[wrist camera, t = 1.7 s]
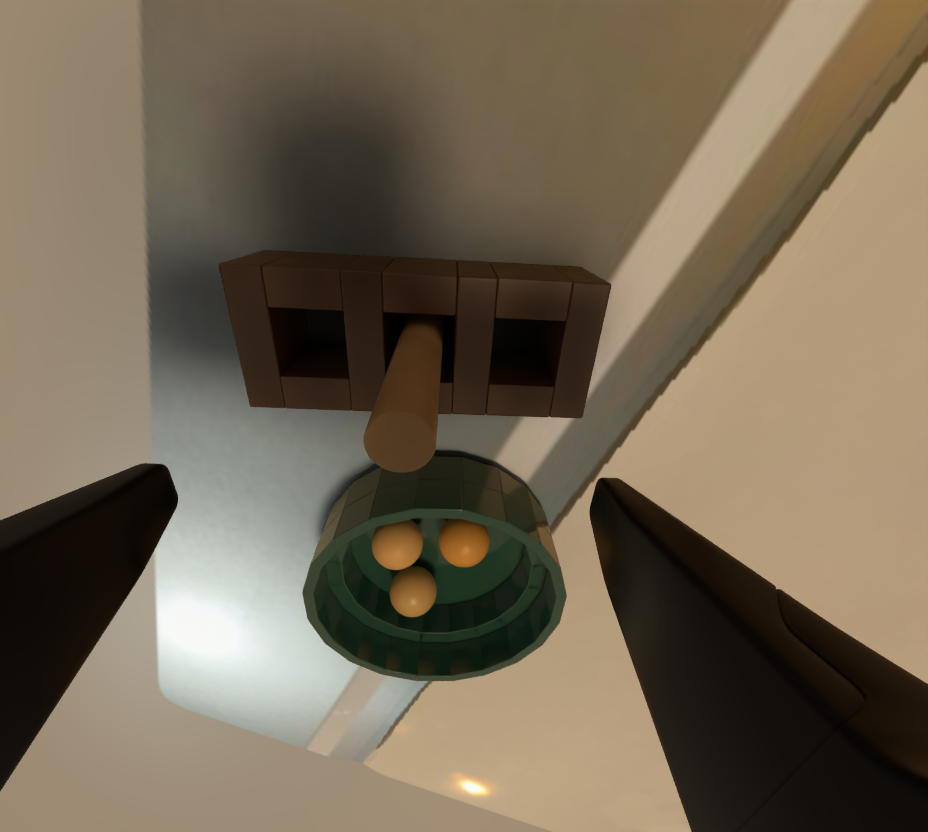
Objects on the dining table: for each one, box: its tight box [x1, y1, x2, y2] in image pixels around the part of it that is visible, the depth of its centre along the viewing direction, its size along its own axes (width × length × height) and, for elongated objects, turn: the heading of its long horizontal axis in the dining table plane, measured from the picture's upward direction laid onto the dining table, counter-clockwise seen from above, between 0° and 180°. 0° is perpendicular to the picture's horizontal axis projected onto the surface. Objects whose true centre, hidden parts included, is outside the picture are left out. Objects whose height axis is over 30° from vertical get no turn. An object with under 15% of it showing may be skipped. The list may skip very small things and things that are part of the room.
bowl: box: [303, 456, 567, 681], centre depth 25 cm, size 14×14×5 cm
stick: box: [364, 314, 444, 472], centre depth 15 cm, size 2×2×11 cm
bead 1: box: [371, 519, 423, 570], centre depth 24 cm, size 3×3×3 cm
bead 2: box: [389, 566, 437, 617], centre depth 26 cm, size 3×3×3 cm
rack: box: [219, 250, 611, 418], centre depth 18 cm, size 14×6×4 cm, turn 87°
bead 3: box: [439, 519, 490, 567], centre depth 24 cm, size 3×3×3 cm
